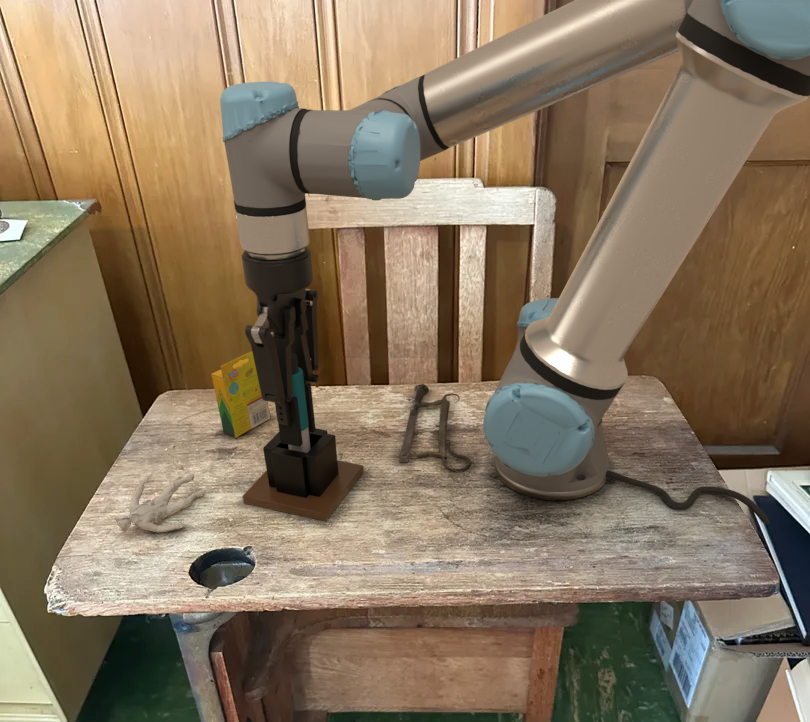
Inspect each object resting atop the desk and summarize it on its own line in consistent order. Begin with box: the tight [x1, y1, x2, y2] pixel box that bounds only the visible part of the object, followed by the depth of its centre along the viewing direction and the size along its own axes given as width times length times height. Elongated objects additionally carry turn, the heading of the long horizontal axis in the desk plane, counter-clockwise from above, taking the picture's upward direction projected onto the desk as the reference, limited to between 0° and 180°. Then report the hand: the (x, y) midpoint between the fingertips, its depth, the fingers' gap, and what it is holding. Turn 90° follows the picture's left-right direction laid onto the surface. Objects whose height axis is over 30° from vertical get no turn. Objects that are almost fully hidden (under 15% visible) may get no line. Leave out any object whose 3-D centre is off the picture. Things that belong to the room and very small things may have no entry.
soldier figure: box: [114, 472, 206, 535], centre depth 96 cm, size 8×5×12 cm
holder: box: [242, 427, 365, 522], centre depth 100 cm, size 12×12×7 cm
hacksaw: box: [398, 383, 472, 473], centre depth 113 cm, size 24×10×2 cm, turn 173°
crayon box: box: [210, 350, 271, 439], centre depth 112 cm, size 7×3×12 cm, turn 141°
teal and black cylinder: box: [288, 353, 311, 453], centre depth 94 cm, size 3×3×13 cm
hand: (298, 436), depth 97 cm, fingers closed on teal and black cylinder, 3 cm apart
